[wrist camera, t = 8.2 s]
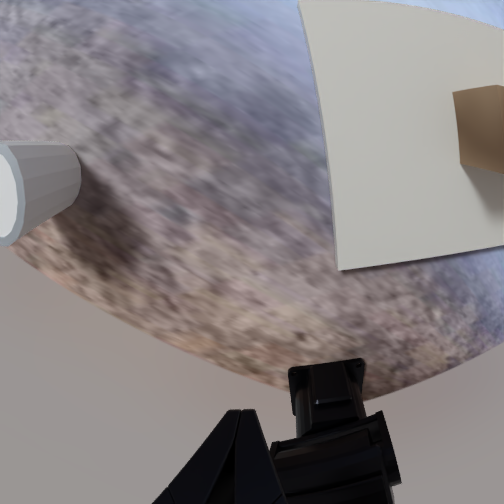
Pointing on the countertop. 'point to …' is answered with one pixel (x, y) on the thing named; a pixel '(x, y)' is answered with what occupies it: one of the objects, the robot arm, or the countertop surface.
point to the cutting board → (401, 129)
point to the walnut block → (481, 127)
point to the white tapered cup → (34, 185)
